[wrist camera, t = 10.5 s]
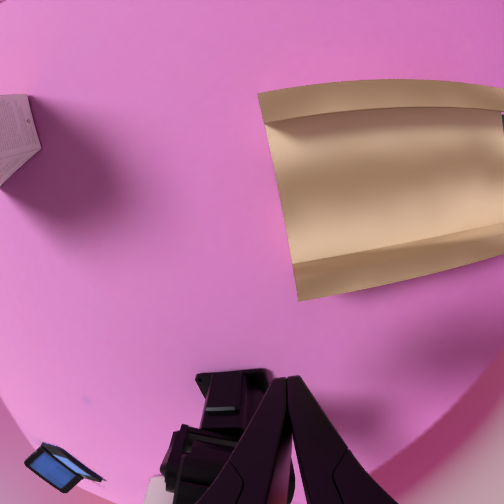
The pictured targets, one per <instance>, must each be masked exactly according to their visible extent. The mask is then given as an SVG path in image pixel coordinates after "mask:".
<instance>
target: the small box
mask: <svg viewBox="0 0 504 504" xmlns="http://www.w3.org/2000/svg"><path fill="white" fill-rule="evenodd" d="M40 149H41V145H40V142H39V139H38V135H37V132H36V128H35V125H34V121H33V117H32V113H31V109H30V105H29V101H28V96H27V94H12V95H0V186H1V185H2V184H3V183H4V182H5V181H6V180H7V179H8V178H9V177H10V176H11V175H12V174H13V173H14V172H16V171H17V170H18V169H19V168H20V167H21V166H22V165H23V164H24V163H25V162H26V161H28V160H29V159H30V158H31V157H32V156H33V155H34V154H36V153H37V152H38V151H39V150H40Z"/></svg>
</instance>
